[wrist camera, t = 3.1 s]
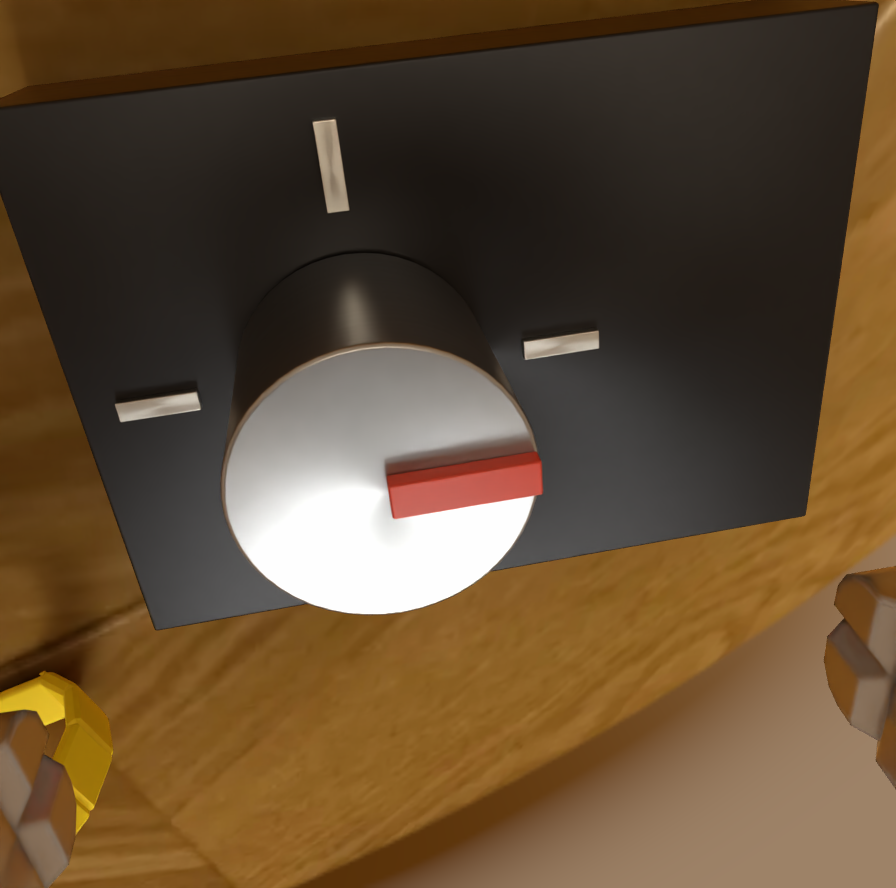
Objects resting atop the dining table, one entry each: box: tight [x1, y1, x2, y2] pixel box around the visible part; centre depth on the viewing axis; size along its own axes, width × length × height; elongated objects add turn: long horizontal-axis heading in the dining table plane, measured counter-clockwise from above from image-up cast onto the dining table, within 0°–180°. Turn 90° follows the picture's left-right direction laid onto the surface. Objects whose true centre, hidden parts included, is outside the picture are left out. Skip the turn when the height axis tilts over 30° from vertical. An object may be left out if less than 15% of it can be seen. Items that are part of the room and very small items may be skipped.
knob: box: [220, 253, 543, 615], centre depth 13 cm, size 4×4×4 cm
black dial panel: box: [0, 0, 879, 630], centre depth 17 cm, size 14×10×3 cm
